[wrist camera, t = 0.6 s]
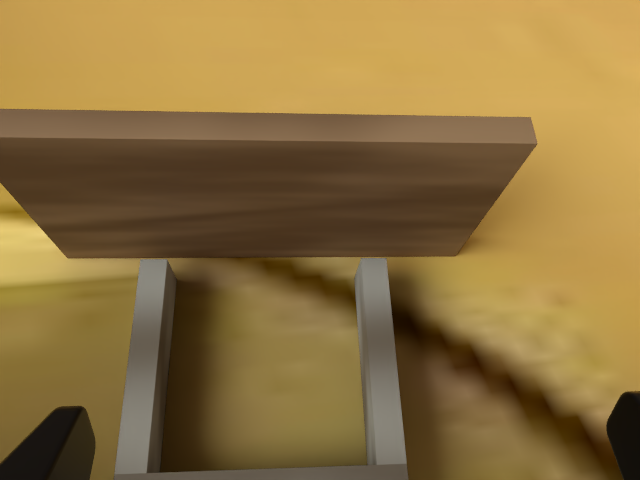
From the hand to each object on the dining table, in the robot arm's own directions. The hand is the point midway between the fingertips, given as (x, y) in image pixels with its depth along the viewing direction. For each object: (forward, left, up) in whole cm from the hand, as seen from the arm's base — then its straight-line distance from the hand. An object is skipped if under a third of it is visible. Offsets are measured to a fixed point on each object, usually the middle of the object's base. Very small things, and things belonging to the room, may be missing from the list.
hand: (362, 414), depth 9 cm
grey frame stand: (+4, +2, -16) cm, 17 cm away
